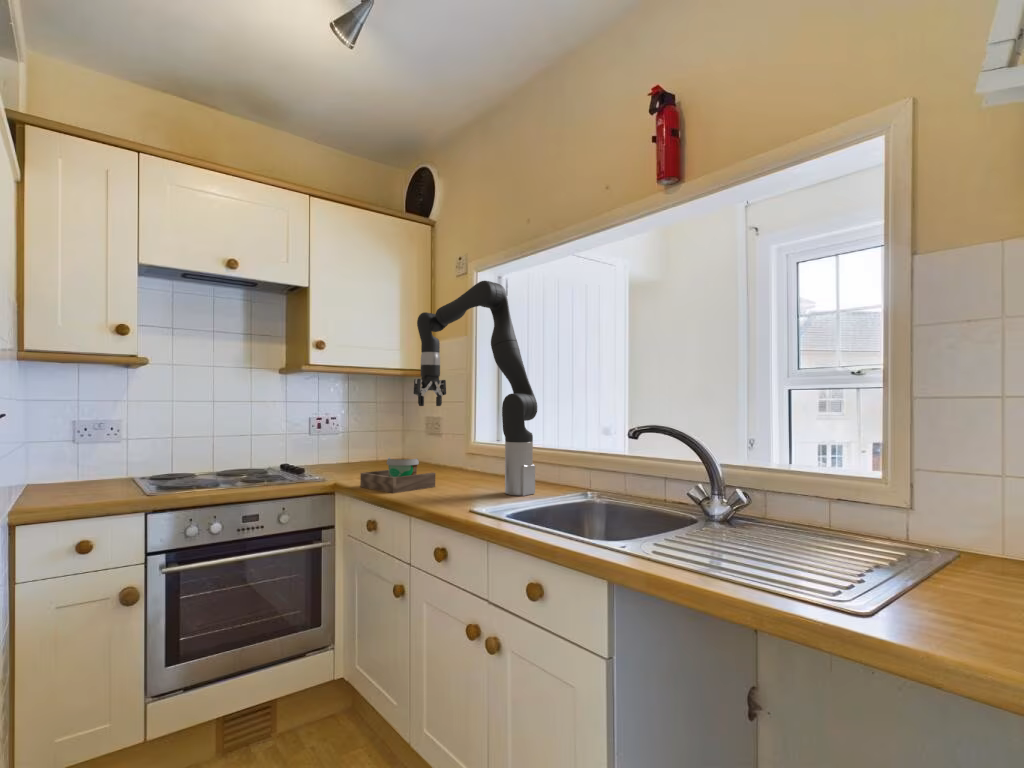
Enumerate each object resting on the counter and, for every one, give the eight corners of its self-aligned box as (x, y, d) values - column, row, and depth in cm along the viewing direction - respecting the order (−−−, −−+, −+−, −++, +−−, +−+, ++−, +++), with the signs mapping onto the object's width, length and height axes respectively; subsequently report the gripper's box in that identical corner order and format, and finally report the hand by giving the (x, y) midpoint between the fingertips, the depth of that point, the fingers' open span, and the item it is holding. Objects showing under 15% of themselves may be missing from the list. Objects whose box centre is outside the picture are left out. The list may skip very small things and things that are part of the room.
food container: (379, 487, 192) (379, 459, 192) (388, 484, 198) (388, 457, 198) (410, 489, 188) (411, 460, 189) (418, 486, 194) (419, 458, 195)
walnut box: (435, 486, 193) (435, 472, 193) (393, 493, 180) (393, 478, 180) (402, 481, 206) (402, 468, 206) (360, 486, 192) (360, 472, 193)
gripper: (421, 362, 202) (421, 406, 202) (450, 364, 213) (450, 406, 212) (409, 363, 207) (409, 406, 207) (438, 365, 218) (438, 406, 217)
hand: (430, 406), depth 209 cm, fingers open, 8 cm apart
